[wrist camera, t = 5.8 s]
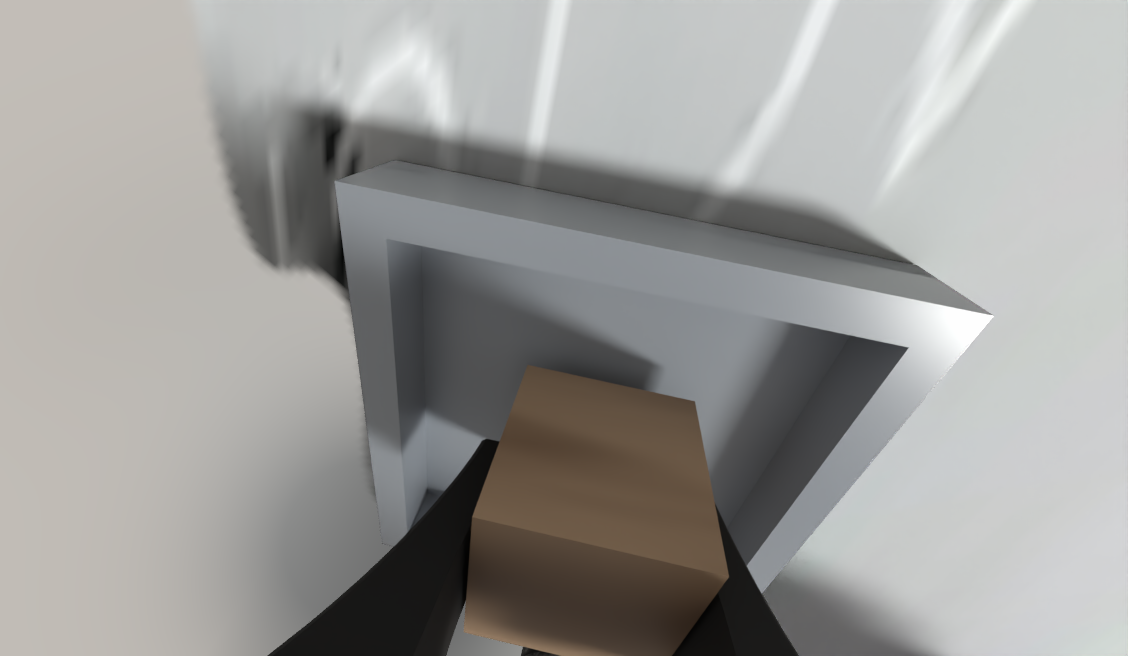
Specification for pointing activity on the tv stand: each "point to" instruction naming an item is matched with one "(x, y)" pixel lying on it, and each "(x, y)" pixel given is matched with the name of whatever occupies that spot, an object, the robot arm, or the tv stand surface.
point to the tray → (632, 339)
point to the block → (594, 522)
